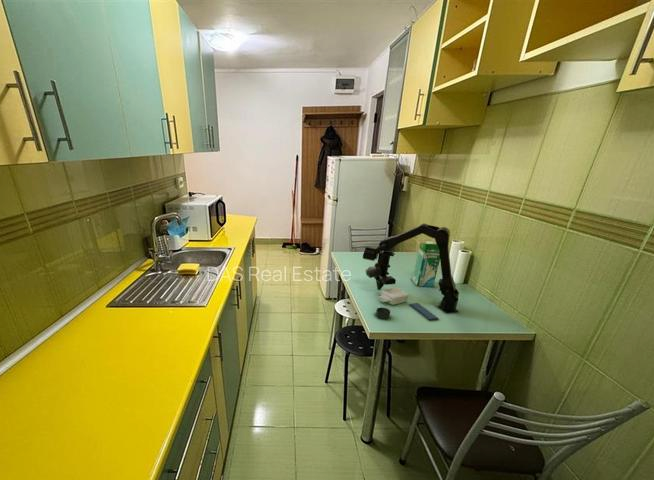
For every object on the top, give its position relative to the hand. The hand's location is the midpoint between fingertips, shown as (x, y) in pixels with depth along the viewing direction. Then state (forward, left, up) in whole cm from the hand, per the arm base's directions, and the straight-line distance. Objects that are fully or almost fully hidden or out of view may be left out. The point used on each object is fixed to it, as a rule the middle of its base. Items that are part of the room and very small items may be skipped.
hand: (378, 289), depth 162 cm
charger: (0, +11, -2) cm, 11 cm away
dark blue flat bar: (-10, +23, -2) cm, 26 cm away
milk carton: (-32, -7, -2) cm, 33 cm away
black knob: (+11, +23, -2) cm, 26 cm away
